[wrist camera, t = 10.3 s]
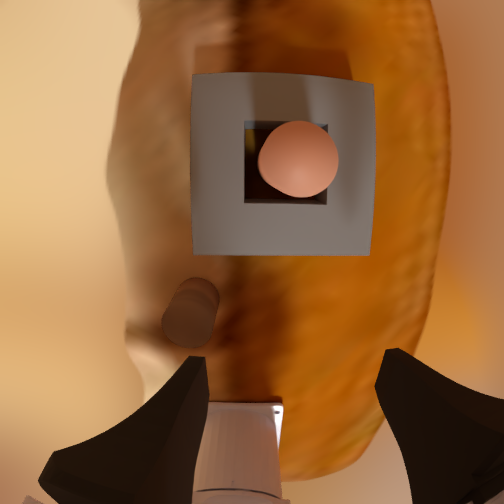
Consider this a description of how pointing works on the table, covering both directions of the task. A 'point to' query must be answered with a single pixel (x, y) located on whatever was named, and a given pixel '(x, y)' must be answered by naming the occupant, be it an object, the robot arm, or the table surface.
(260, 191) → the table surface
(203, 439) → the robot arm
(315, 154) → the long peg
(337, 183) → the hole block
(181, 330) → the short peg
